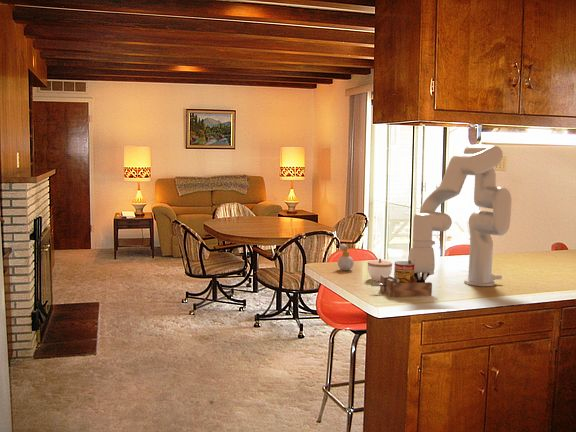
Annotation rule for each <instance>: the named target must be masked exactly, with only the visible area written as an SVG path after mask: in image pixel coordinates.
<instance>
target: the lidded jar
mask: <svg viewBox="0 0 576 432" xmlns="http://www.w3.org/2000/svg"><path fill="white" fill-rule="evenodd" d="M392 271H393V262H392V261H388V260H382V258H378V260H377V259H375V260H368V261H367V273H368V275H369V277H370V278H371V280H372V279H373V280H372V281H375V282H381V275H385V276H387V277H388V275H392Z"/></svg>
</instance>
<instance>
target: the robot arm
mask: <svg viewBox="0 0 576 432" xmlns="http://www.w3.org/2000/svg"><path fill="white" fill-rule="evenodd" d="M503 154H504V153H503V150H502V148H501V147H500V146H498V145H494V144H472V145H469V146H467V147H465V148H464V151H463V153H461V154H459V153H458V154H455V155H453V156H452V157H451V158H450V160H449V163H448V164H447V168H446V169H445V173H444V175H443V178H442V179H441V182H440V184H439V186H438V187H437V188H436V189H435V190H433V191H432V192H431V194H429V195H428V197H426V199H425V200H424V201H423V203H422V206H421V207H420V210H419V212H417V213H415V214H413V221H412V222H413V224H412V225H413V226H412V246H411V247H410V248H409V252H408V258H407V261H408V263H409V262H410V263H411V264H414V277H415V278H416V279H417V283H426V280H427V278H429V276H433V275H434V274H435V266H436V263H435V262H436V261H435V252H434V247H433V245H435V244H436V241H434V240H433V232H445V231H447V230H449V229H450V228H451V226H452V224H453V221H452V218H451V216H450V215H448V214H447V213H444V212H439V211H436V210H437V208H438V207H439V206H440V205H441V204H443V203H444V202H446V201H448V200H450V199H453V198H454V197H457V196H459V195H460V193H461V191H462V189H463V186H464V183H465V181H466V179H467V177H468V176H474V191H473V202H474V205H476V206H477V207H478V208H483V209H489V210H490V209H491V210H492V211H487V210H477V211H474V212H472V213H471V214H470V216H469V218H468V227H469V236H470V239H469V240H470V241H469V243H470V244H469V256H468V257H469V259H468V260H469V261H468V274H467V275H468V276H467V278H465V279H464V281H463V282H464V283H465V284H466V285H469V286H476V287H493V286H495V284H496V282H495V280H499V281H500V280H502V279H503V276H502V275H501V274H497V275H496V274H494V273H493V272H492V271H493V254H494V253H493V252H494V241H493V240H494V239H493V237H492V236H499V237H501V236H504V235H506V234H507V233H508V231H509V230H510V226H511V213H512V195H511V192H510V190H508V188H506V187H504V186H497V184H496V183H497V181H496V180H497V177H496V176H497V175H496V170H495V167H497V166H498V165H499V164H500V163H501V162H502V160H503V157H504V155H503Z"/></svg>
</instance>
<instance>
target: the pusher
mask: <svg viewBox="0 0 576 432" xmlns="http://www.w3.org/2000/svg"><path fill="white" fill-rule="evenodd" d="M388 279H392V280H394V283H399V281H400V280H399V279H398V278H396V277H394V275H392V274H391V275H388ZM370 286H371V287H380V286H386V284H380V283H371V284H370Z"/></svg>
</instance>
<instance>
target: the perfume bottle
mask: <svg viewBox="0 0 576 432" xmlns="http://www.w3.org/2000/svg"><path fill="white" fill-rule="evenodd" d="M339 250H341V252H342V256H340V257H339V258H338V260H337V266H338V268H339V269H340V270H341V271H350V270H351V269H352V268H353V267H354V259H353V257H351V256H350V251H349V250H348V246H347V244H345V243H341V244H340V245H339Z"/></svg>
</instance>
